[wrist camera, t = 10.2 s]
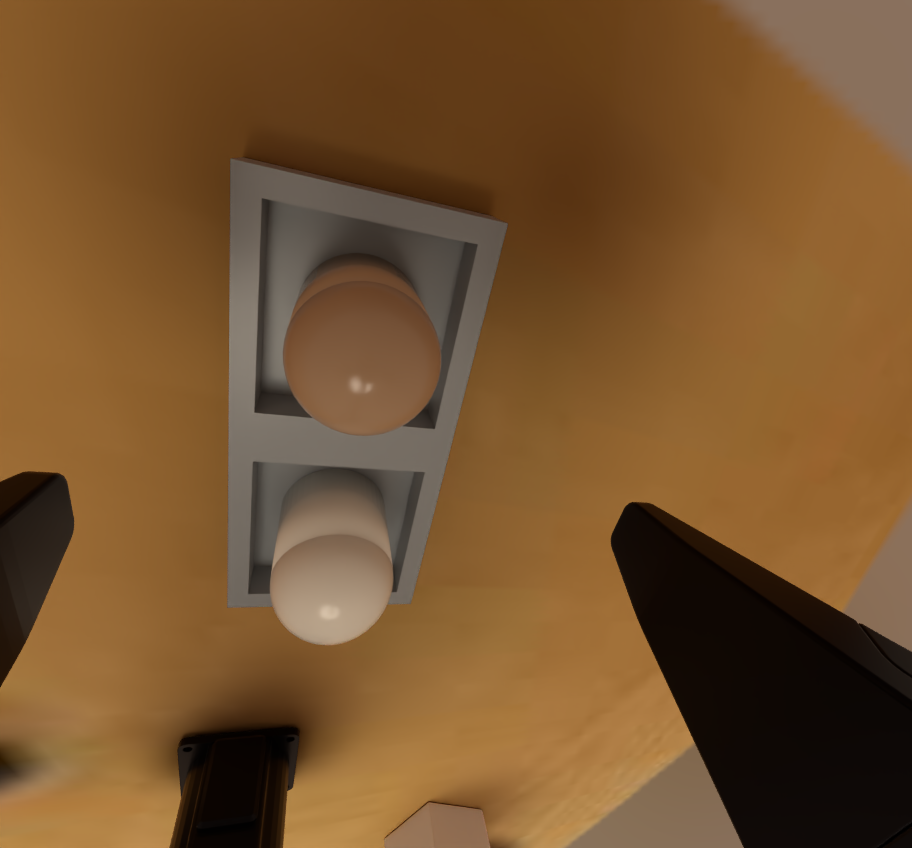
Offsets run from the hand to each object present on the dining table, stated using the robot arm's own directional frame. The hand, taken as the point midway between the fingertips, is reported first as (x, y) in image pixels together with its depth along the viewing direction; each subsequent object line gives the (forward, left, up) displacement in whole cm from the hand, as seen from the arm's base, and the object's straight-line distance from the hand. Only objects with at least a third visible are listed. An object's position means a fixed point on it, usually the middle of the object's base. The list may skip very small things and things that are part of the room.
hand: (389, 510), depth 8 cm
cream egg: (-9, 0, -11) cm, 14 cm away
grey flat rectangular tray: (-5, 0, -11) cm, 12 cm away
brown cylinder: (0, 0, -11) cm, 11 cm away
